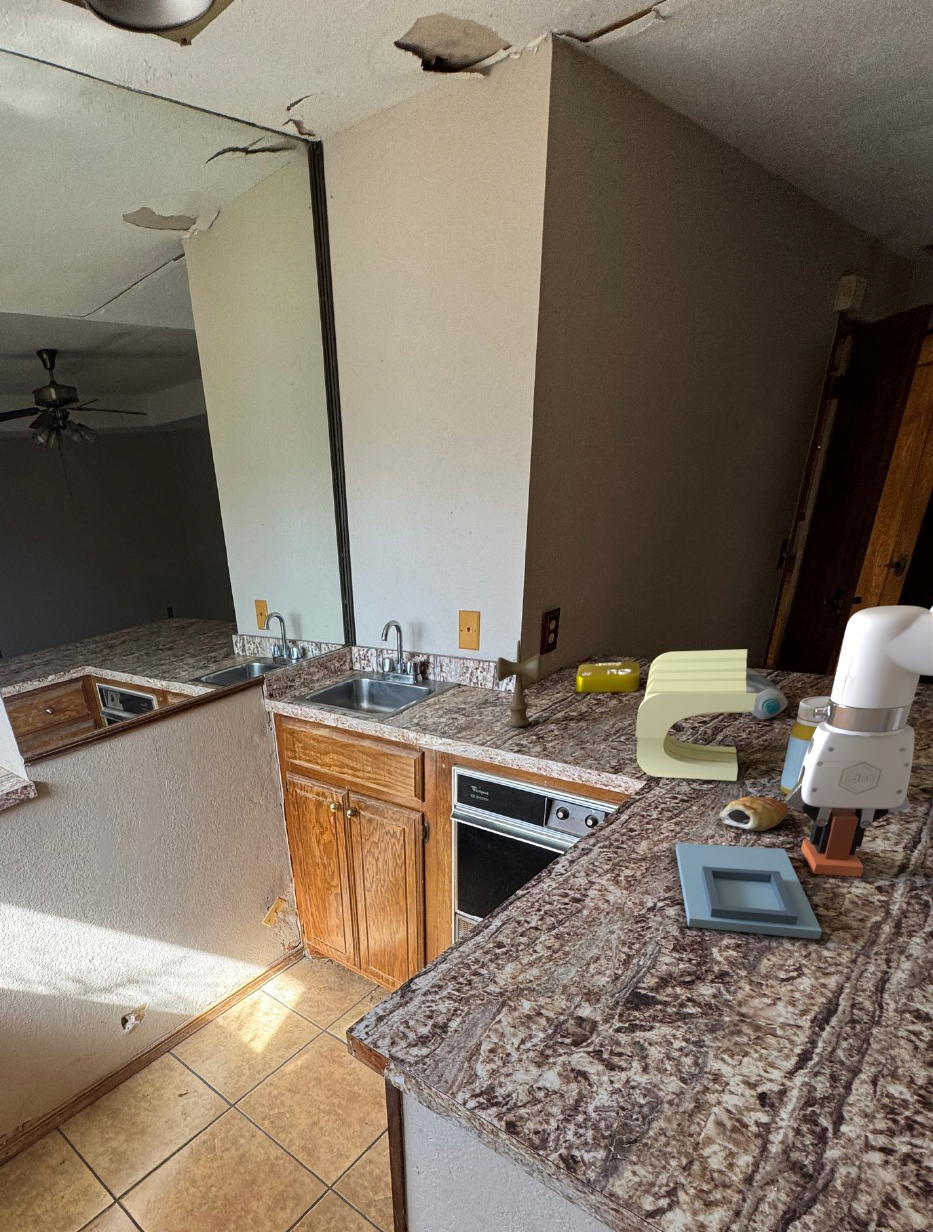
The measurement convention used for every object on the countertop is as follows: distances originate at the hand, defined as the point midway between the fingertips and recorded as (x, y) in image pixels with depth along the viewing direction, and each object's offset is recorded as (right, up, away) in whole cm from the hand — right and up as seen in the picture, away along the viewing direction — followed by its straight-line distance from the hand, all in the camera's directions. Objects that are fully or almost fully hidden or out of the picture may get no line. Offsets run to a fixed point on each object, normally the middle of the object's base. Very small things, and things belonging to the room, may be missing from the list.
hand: (833, 848), depth 86 cm
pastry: (-1, +4, +13) cm, 14 cm away
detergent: (+29, +30, +58) cm, 71 cm away
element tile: (+12, +43, +89) cm, 99 cm away
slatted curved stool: (+1, +15, +35) cm, 39 cm away
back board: (-14, -5, -2) cm, 15 cm away
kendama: (-19, +28, +69) cm, 77 cm away
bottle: (+11, +9, +19) cm, 24 cm away
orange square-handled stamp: (0, -2, +1) cm, 2 cm away
